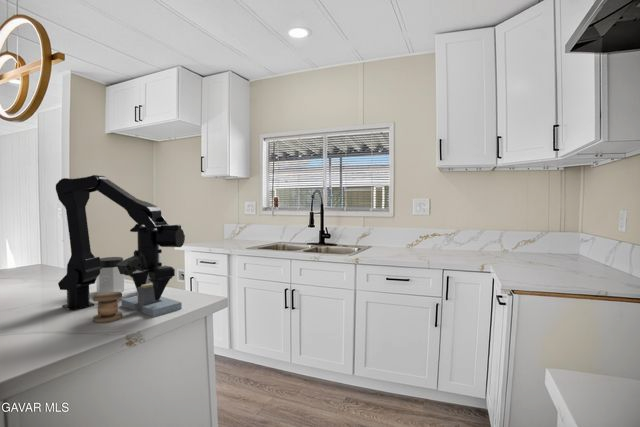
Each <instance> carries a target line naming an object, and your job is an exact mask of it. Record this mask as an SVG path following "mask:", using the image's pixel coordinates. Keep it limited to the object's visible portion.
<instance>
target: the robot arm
mask: <svg viewBox="0 0 640 427" xmlns="http://www.w3.org/2000/svg"><path fill="white" fill-rule="evenodd" d="M55 191H56V192H55V193H56V195H57V199H58V201H59V202H60V203H61V204H62V205H63V207H64V208H65V212H66V213H65V214H66V220H67V227H68V237H69V243H70V252H71V255H70V258H69V260H68V262H67V265H66V275H64V277H62V279H60V280H59V282H58V284H57V285H58V287H59V291H66V304H63V305H62V307H63V308H64V309H66V310H69V311H74V310H78V309H83V308H87V307H92V306H95V303H94V302H92V301H90V285H93V284H96V282H97V281H96V278H97V277H98V275H99V274H100V269H102V268H101V266H100V258H101V257H100V256H95V255H94V254H93V253H92V250H91V242H90V234H89V228H88V227H89V226H88V217H87V211H86V208H87V207H86V206H87V204H88V202H89V200H90V195H91V194H90V193H94V192H99V193H100V194H102V195H103V196H104V197H106V198H107V199H109V200H111V201H112V202H114V203H115V204H117V205H118V206H120V207H122V208H123V209H124V210H125V211H126V213H127V214H128V215H129V218H131V219H132V220H133V221H134V222H135V223H136V224H134V226H133V227H132V228H131V229H130V230H129V231H130V233H137V249H135V250H134V251H133V255H132V256H129V257H127V258H125V259H123V261H121V262H119V263H117V264H116V265H117V267H118V270H119V272H120V274H124V276H126V277H127V276H128V277H130V278H131V279H132V280H133V283H134V285H135V289H136V292H137V293H138V287H141V285H144V284H146V280H147V277H148V273H149V277H150V278H151V279H148V280H149V281H151V282H152V283H153V288H154V296H155V300H159V299H160V297H162V295H163V292H164V291H165V288H166V287H167V285H168V284H169V281H170V280H172V279H173V277H175V276H176V272H175V271H176V269H175V268H174V267H172V266H168V265H162V264H163V263H162V262H161V263H160V262H159V253H161V254H162V248H182V247H183V245H184V243H185V240H186V239H185V238H186V235H185V233H184V230H183V229H182V224H172V225H171V224H169V223H168V221H167V220H166V218H165V217H164V216H163V215H162V210H161V208H160V207H159V206H157V205H155V204H152V203H150V202H148V201H144V200H142V199H139V198H137V197H136V196H134V195H133V194H131V193H130V192H128V191H126V190H125V189H124V188H121V187H120V186H118V184H116V183H115V182H113V181H112V180H110V179H109V178H108V177H107V176H105V175H98V174H93V175H91V176H85V177H76V178H69V177H64V178H61V179H60V180H59V179H58V181H57V183H56V184H55ZM159 245H160V246H161V249H159ZM159 266H160V267H159Z"/></svg>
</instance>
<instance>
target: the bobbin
mask: <svg viewBox="0 0 640 427" xmlns="http://www.w3.org/2000/svg"><path fill="white" fill-rule="evenodd" d="M122 298H123V293H122V292H106V293H101V294H98V293H97V294H94V295H93V296H92V301H93V302H97V314H96V315H94V316H93V317H92V321H94V322H93V323H96V322H97V323H96V324H105V323H106V324H107V323H111V322H115V321H119V320H120V319H122V318H123V312H120V311H119V304H118V302H119V301H118V300H119V299H122Z"/></svg>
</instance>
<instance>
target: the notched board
mask: <svg viewBox="0 0 640 427" xmlns="http://www.w3.org/2000/svg"><path fill="white" fill-rule="evenodd" d="M120 299H121V300H120V301H121V302H120V303H121V304H120V306H121V307H125V308H127V309H130V310H133V311H136V310H137V311H138V295H135V296H131V297H129V296H128V297H126V298H120ZM182 305H183V304H182V302H181V301H179V300H176V299H171V298H169V297H165V296H161V297H160V299H159V302H157V303H153V304H149V305H145V306H142V311H141V312H142V314H145V315H147V316H150V317H153V318H154V317H157V316H161V315H165V314H167V313H171V312H175V311H178V310H181V309H182Z"/></svg>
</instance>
